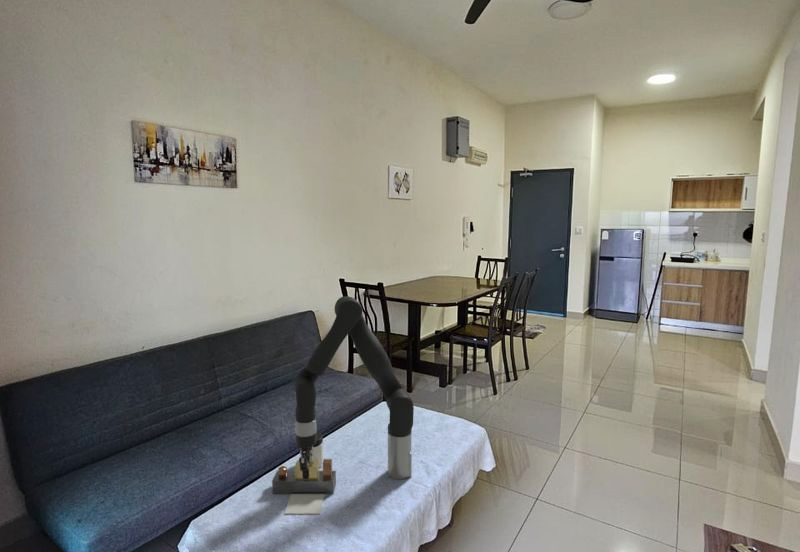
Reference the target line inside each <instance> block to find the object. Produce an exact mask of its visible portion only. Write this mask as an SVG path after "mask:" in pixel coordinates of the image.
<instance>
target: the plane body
mask: <svg viewBox="0 0 800 552" xmlns="http://www.w3.org/2000/svg"><path fill="white" fill-rule="evenodd" d="M287 469H288V468H287V466H286V465H285V466H284V465H283V466H279V467H278V469H277V471H276V472H275V474H274V476H273V478H272V481H271V482H272V483H271V484H272V486H271V487H272V488H271V489H272V495H291V494H325V495H334V494H335V489H336V484H337V475H336V474H337V473H336V470H333V459H332V458H323V464H322V470H319V475H318V478H317V480H295V470H287Z"/></svg>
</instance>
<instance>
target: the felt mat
mask: <svg viewBox="0 0 800 552" xmlns="http://www.w3.org/2000/svg"><path fill="white" fill-rule="evenodd" d="M325 497H326V494H290V498H289V499H288V503H287V504H286V505H287V506H286V508H285V512H284V515H321V513H322V512H321V511H322V508H323V504H324V500H325Z"/></svg>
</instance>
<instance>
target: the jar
mask: <svg viewBox="0 0 800 552" xmlns="http://www.w3.org/2000/svg"><path fill="white" fill-rule="evenodd" d="M323 439H324V438H323V434H322V433H321V432H319V431H317V442H316V444H315V445H313V456H312V460H319V468H323V460H324V440H323Z"/></svg>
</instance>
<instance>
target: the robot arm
mask: <svg viewBox="0 0 800 552" xmlns="http://www.w3.org/2000/svg"><path fill="white" fill-rule="evenodd" d="M334 314H335V319H334V321H333V323H332V326H331V328H330V329H329V331H328V332H327V334H326V335H325V337H323V339H322V340H321V341H320V342H319V343H318V344H317V346H316V348H315V349H314V351H313V353H312V354H311V356H310V358H309V360H308V361H307V363H306V364H305V366H304V367H303V368H302V370H301V371H300V372H299V373H298V375H297V376H296V378H295V380H294V383H293V388H294V391H295V397H296V406H295V409H294V410H295V424H294V427H295V430H294V431H295V433H294V434H295V435H294V436H295V445H296V446H297V447H298V448H301V449H300V451H299V455H300V457H299V458H298V460H299V463H300V471H302V476H303V479H308V478H309V463H310V461H311V460H312V456H313V445H315V444H316V442H317V432H318V431H317V420H316V419H317V418H316V400H317V388H316V387H317V386H316V385H315V383H316V381H317V379H318V378H319V377H320V376H323V375H324V374H325V372H326V371H327V369H328V367H329V366H330V363H331V362H332V360H333V359H334V356H335V355H336V353H337V352H338V350H339V348H340V346H341V345H342V343H343V342H344V341H345V339H346V337H347V336H348V335H349V336H350V338H351V340H352V342H353V343H352V344H353V345H354V348H355V350H356V352H357V354H358V356H359V358H360V360H361V362H362V363H363V365H364V367H365V368H366V370H367V372H368V373H369V375H370V376H371V378H373V380H374V381H375V382H376V383H377V385H378V386H379V388H380V390H381V393H382V395H383V398H384V400H385V404H386V406H387V408H388V410H389V423H388V424H387V474H388V476H389V477H390V478H392V479H395V480H404V479H407V478H412V467H413V466H412V461H413V460H412V458H413V456H412V432H413V430H412V429H413V426H414V413H415V411H414V410H415V409H414V401H413V400H412V398H411V397H410V394H409V393H408V392H407V391H406V390H405V388H404V387H403V385H402V384H401V383H400V381H399V379H398V378H397V376H396V374H395V372H394V369H393V366H392V363H391V361H390V358H389V356H388V354H387V352H386V350H385V349H384V347H383V345H382V344H381V341H380V340H379V339H378V338H377V336H376V335H375V334H374V332H373V331H372V330H371V329H370V327H369V326H368V325H367V322H366V321H365V318H364V316H363V307H362V305H361V303H360V302H359V301H358V300H357V299H355V298H354V297H352V296H348V295H347V296H346V295H345V296H341V297H339V298H337V300H336V302H335V304H334Z"/></svg>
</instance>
